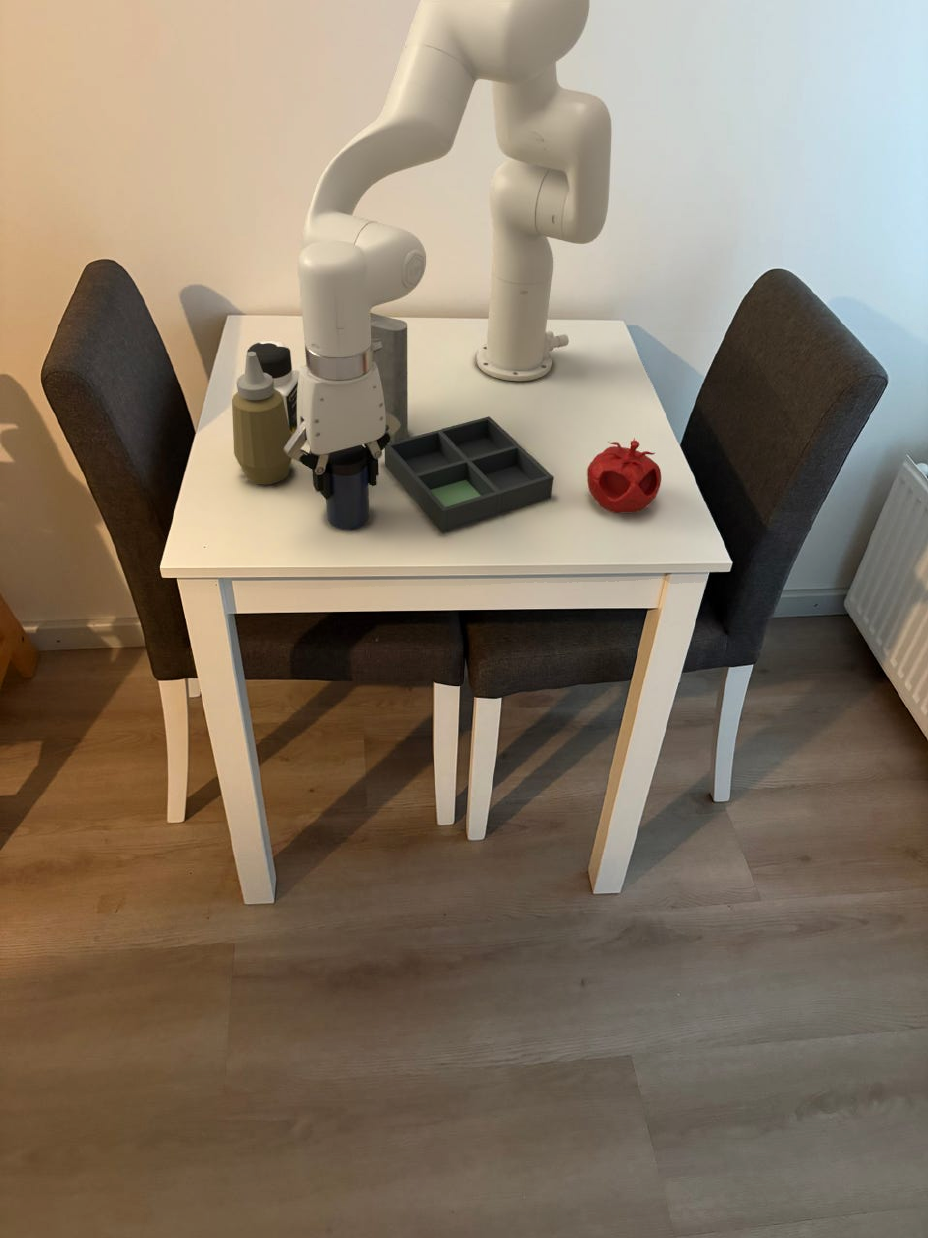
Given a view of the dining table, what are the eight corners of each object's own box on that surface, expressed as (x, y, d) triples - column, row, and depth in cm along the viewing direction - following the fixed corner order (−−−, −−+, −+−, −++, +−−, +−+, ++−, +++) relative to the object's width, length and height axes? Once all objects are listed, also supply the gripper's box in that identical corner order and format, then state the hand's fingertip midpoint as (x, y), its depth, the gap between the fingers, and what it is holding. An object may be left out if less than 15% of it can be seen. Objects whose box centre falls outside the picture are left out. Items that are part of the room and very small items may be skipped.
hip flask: (411, 435, 132) (411, 305, 118) (395, 447, 130) (394, 316, 116) (327, 401, 138) (318, 274, 124) (310, 413, 136) (299, 284, 122)
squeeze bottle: (270, 497, 120) (253, 376, 107) (225, 477, 123) (204, 357, 110) (308, 469, 125) (297, 350, 112) (264, 450, 128) (248, 332, 115)
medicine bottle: (291, 437, 130) (283, 362, 122) (245, 430, 131) (234, 355, 123) (307, 412, 136) (300, 339, 127) (262, 406, 136) (253, 332, 128)
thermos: (358, 499, 120) (355, 436, 113) (376, 522, 117) (374, 458, 110) (320, 511, 118) (314, 447, 111) (337, 534, 115) (333, 470, 108)
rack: (487, 437, 133) (489, 415, 130) (551, 498, 122) (554, 476, 120) (384, 465, 126) (384, 444, 124) (442, 533, 116) (442, 511, 113)
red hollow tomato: (578, 478, 126) (587, 421, 120) (647, 478, 127) (660, 421, 120) (590, 522, 119) (600, 463, 113) (663, 521, 120) (677, 463, 113)
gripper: (392, 328, 107) (393, 455, 120) (255, 358, 101) (272, 489, 113) (420, 356, 103) (419, 485, 115) (279, 388, 96) (294, 521, 109)
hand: (346, 485), depth 114 cm, fingers closed on thermos, 5 cm apart
